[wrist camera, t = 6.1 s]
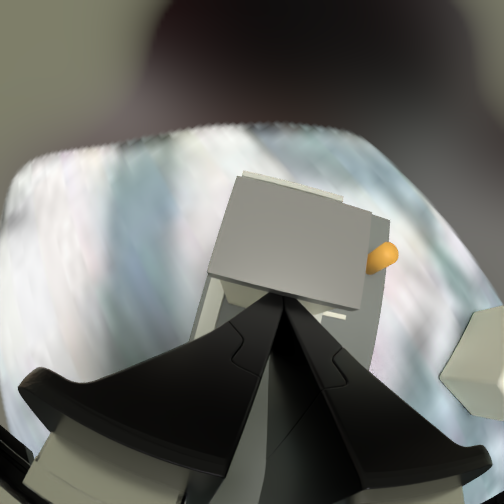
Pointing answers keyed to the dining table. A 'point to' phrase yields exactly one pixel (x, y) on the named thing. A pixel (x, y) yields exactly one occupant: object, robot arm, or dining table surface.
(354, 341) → the console
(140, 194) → the dining table surface
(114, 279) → the dining table surface
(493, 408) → the medicine bottle
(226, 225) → the fader tab
